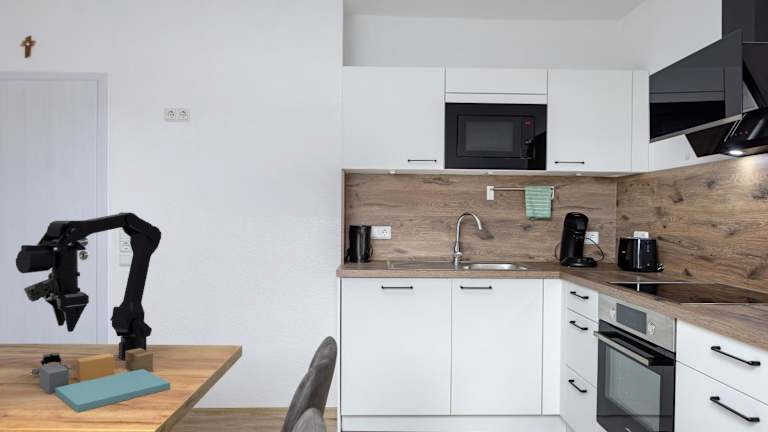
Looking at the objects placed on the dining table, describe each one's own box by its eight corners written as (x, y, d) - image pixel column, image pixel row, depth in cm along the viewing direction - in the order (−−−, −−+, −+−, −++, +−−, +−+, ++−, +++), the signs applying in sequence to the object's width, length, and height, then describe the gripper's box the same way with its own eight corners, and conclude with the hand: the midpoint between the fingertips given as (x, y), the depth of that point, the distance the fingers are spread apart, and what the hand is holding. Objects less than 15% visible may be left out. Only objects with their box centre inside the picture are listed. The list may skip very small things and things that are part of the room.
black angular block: (23, 379, 129) (23, 361, 129) (22, 372, 134) (22, 355, 135) (79, 370, 136) (79, 353, 136) (76, 364, 142) (76, 348, 142)
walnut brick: (125, 369, 136) (125, 350, 136) (140, 365, 139) (140, 348, 139) (137, 375, 131) (137, 356, 131) (152, 371, 134) (152, 353, 134)
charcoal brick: (39, 386, 122) (39, 366, 122) (58, 383, 125) (58, 363, 125) (48, 394, 116) (49, 373, 116) (68, 390, 119) (68, 369, 119)
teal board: (142, 374, 131) (142, 368, 131) (170, 388, 121) (170, 382, 121) (55, 394, 116) (55, 387, 116) (77, 412, 106) (77, 405, 106)
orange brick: (108, 371, 134) (108, 353, 134) (113, 374, 131) (114, 355, 132) (75, 378, 128) (75, 359, 128) (79, 381, 126) (80, 362, 126)
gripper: (19, 268, 129) (20, 328, 130) (35, 275, 116) (36, 341, 117) (68, 264, 137) (69, 321, 138) (89, 270, 124) (89, 332, 125)
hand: (65, 328), depth 129 cm, fingers open, 9 cm apart
